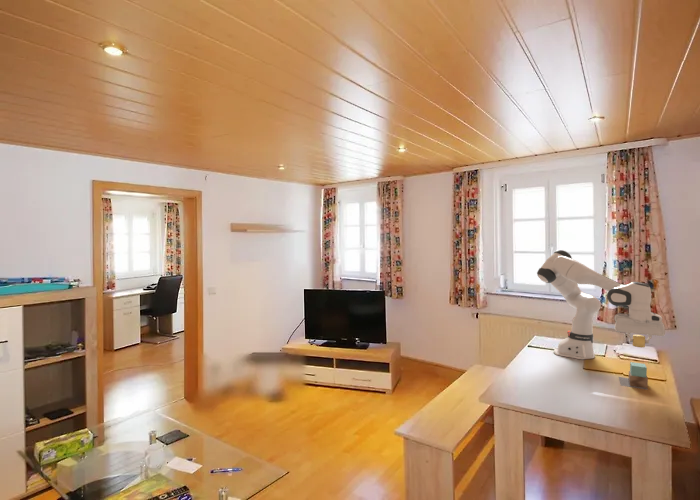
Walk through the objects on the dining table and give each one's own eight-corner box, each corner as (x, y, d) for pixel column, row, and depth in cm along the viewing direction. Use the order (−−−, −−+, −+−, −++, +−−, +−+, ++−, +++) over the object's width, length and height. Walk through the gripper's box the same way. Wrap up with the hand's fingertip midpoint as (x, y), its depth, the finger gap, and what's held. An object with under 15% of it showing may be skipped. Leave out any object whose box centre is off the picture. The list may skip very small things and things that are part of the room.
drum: (632, 346, 196) (633, 336, 196) (632, 343, 200) (632, 334, 200) (645, 348, 194) (645, 337, 193) (644, 345, 198) (644, 335, 198)
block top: (631, 375, 197) (631, 365, 196) (630, 371, 202) (630, 362, 202) (646, 377, 194) (646, 367, 193) (644, 373, 199) (644, 363, 199)
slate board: (620, 387, 197) (620, 385, 197) (618, 378, 208) (618, 376, 208) (648, 391, 192) (648, 389, 192) (644, 382, 203) (644, 380, 203)
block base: (630, 385, 197) (630, 375, 197) (628, 380, 203) (628, 371, 203) (647, 388, 193) (647, 378, 193) (645, 383, 199) (645, 373, 199)
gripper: (614, 314, 199) (614, 341, 199) (666, 318, 188) (665, 347, 189) (613, 311, 204) (613, 338, 205) (664, 315, 194) (663, 343, 195)
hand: (638, 342), depth 197 cm, fingers closed on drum, 5 cm apart
